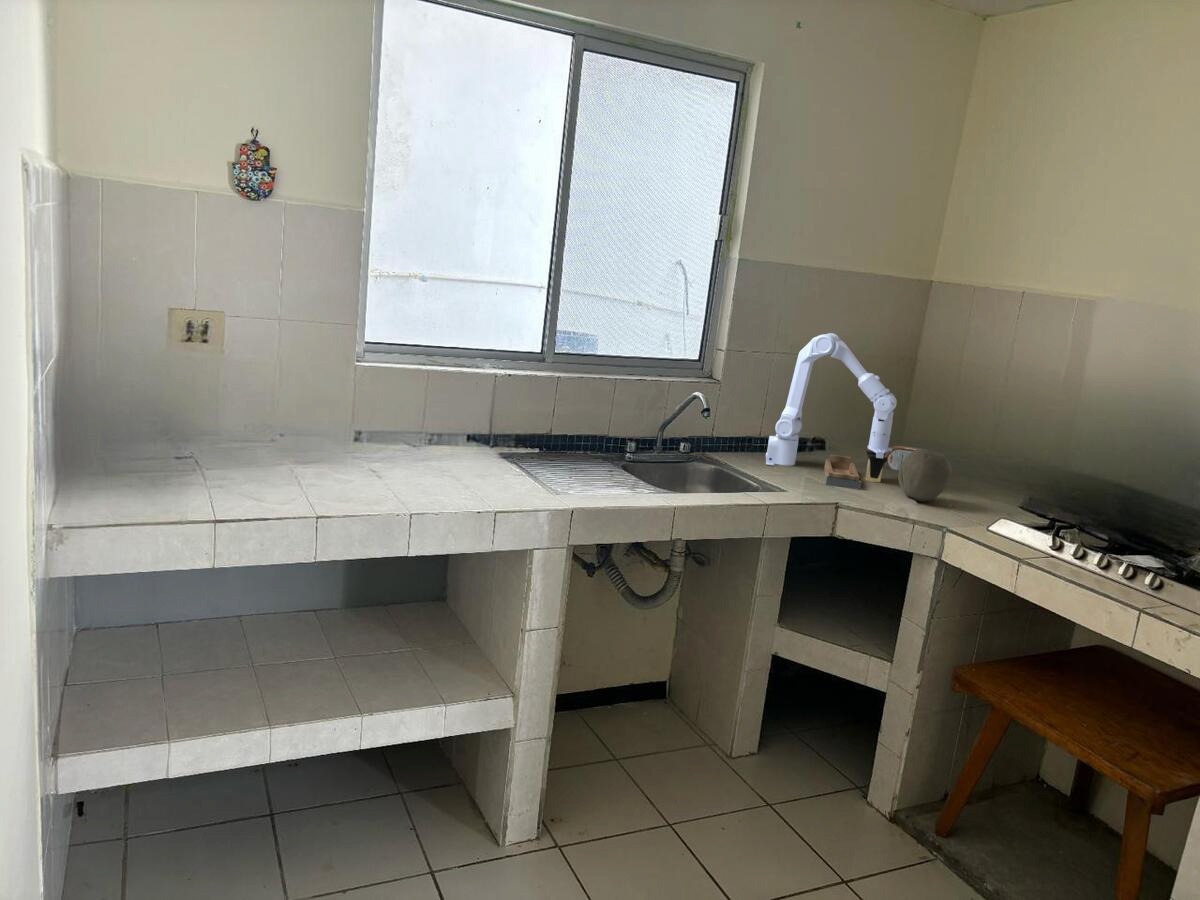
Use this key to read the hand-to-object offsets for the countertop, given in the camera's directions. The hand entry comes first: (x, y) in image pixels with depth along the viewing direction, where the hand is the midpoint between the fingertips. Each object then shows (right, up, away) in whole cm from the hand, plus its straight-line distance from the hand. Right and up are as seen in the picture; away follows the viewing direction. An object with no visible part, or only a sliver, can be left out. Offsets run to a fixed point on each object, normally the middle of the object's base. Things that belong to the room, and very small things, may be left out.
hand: (873, 476), depth 286 cm
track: (-10, -1, +1) cm, 10 cm away
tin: (+16, +1, +20) cm, 26 cm away
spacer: (0, -2, 0) cm, 2 cm away
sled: (-10, 0, -1) cm, 11 cm away
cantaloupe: (+9, -7, -16) cm, 19 cm away
